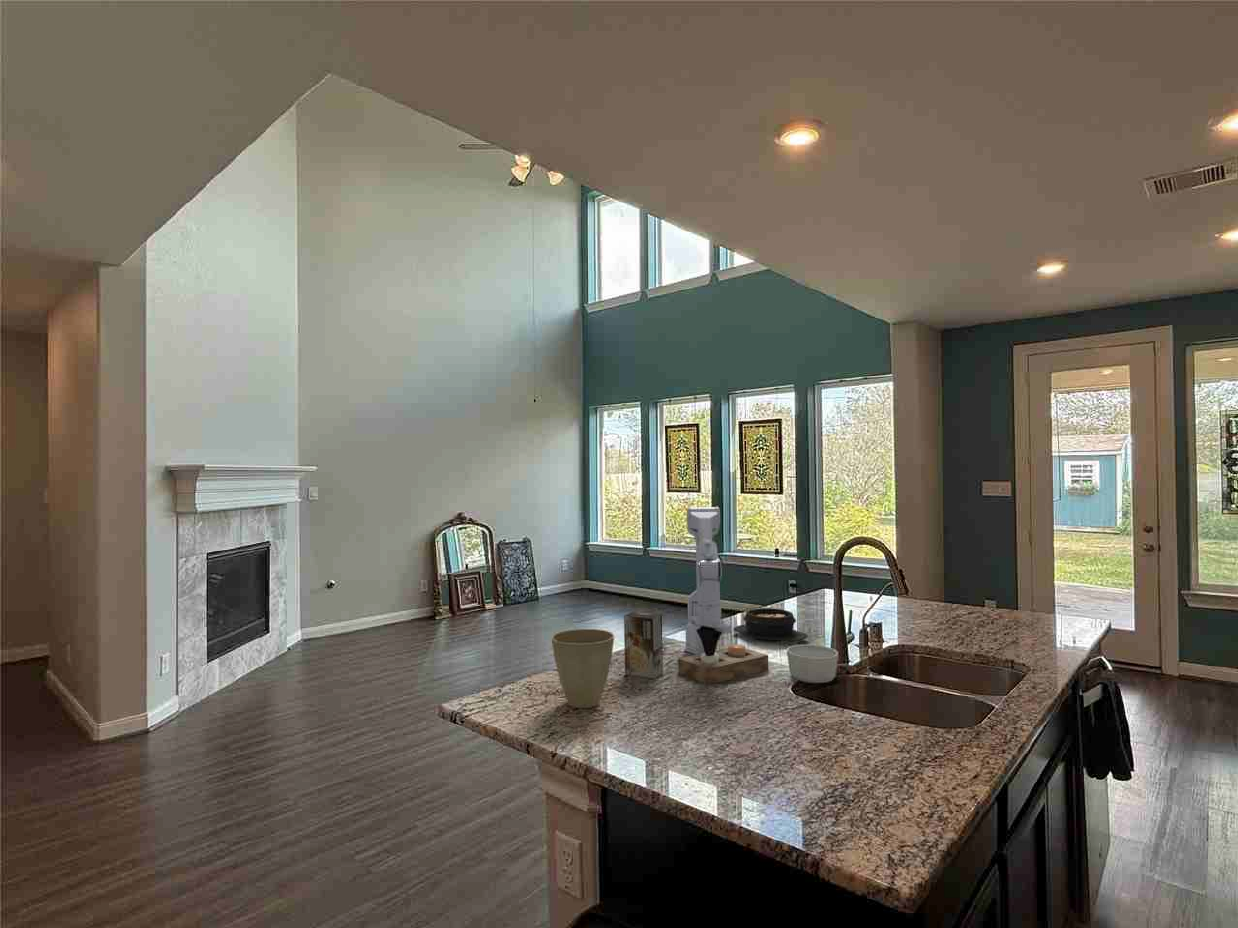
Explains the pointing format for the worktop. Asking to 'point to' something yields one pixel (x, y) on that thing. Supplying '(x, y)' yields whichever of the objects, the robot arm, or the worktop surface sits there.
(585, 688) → the plant pot
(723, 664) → the button box
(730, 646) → the terracotta button
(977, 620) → the worktop surface
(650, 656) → the coffee box
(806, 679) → the ramekin
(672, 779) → the worktop surface
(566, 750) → the worktop surface
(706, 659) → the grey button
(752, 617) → the casserole
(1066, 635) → the worktop surface
